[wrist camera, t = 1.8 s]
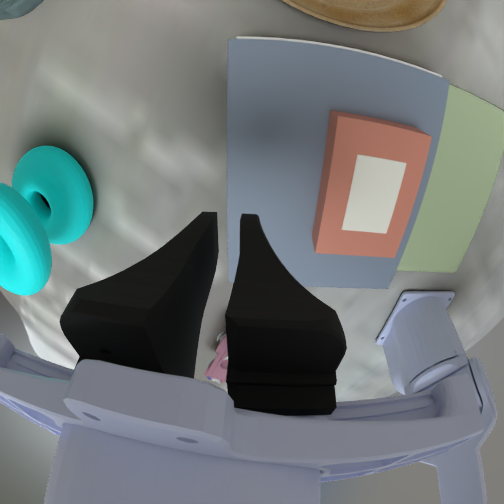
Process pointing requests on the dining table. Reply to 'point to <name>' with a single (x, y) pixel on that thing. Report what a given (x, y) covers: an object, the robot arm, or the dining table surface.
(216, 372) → the pink rounded piece
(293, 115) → the book deck
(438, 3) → the plant saucer
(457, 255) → the felt mat
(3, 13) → the grey plant pot
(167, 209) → the dining table surface
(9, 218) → the donuts
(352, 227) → the card box
